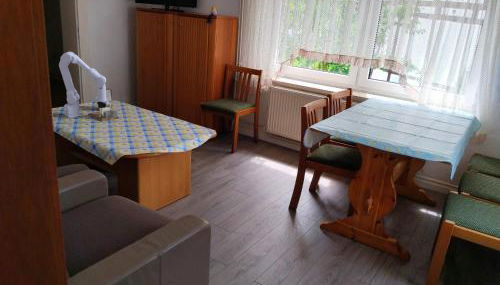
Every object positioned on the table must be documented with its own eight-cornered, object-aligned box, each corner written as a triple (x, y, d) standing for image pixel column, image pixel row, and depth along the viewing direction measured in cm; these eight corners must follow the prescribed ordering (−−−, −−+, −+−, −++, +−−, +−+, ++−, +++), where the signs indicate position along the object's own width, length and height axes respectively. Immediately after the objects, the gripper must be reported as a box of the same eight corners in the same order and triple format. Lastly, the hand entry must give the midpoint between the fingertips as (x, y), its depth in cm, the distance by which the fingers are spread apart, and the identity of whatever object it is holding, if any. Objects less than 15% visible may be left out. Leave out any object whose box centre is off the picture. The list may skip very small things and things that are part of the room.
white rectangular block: (98, 116, 271) (98, 110, 270) (96, 115, 273) (96, 109, 271) (109, 115, 278) (109, 108, 276) (107, 114, 280) (107, 107, 278)
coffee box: (112, 109, 297) (112, 89, 292) (105, 111, 292) (104, 90, 287) (104, 107, 302) (104, 87, 296) (97, 108, 296) (96, 88, 291)
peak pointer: (99, 117, 270) (99, 114, 269) (99, 117, 270) (99, 114, 269) (102, 117, 271) (102, 113, 271) (102, 117, 272) (101, 113, 271)
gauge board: (102, 121, 268) (101, 113, 266) (88, 115, 278) (87, 107, 276) (118, 118, 278) (118, 110, 276) (104, 112, 288) (104, 104, 286)
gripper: (112, 94, 272) (113, 113, 276) (101, 90, 280) (101, 109, 285) (103, 96, 267) (104, 115, 271) (92, 91, 275) (92, 110, 279)
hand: (102, 112), depth 278 cm, fingers closed
